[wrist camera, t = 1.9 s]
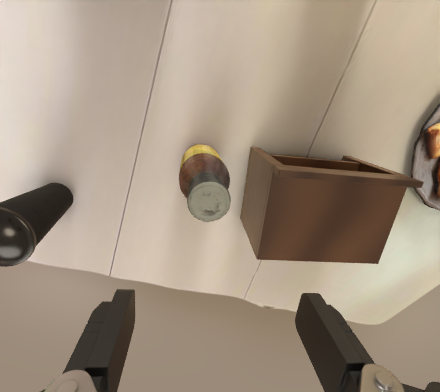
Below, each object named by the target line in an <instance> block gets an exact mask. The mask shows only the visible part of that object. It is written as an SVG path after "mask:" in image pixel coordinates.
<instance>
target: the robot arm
mask: <svg viewBox="0 0 440 392" xmlns="http://www.w3.org/2000/svg"><path fill="white" fill-rule="evenodd" d="M134 323H135V291H134V290H123V289H117V290H116V292H115V295H114V297H113V300H112V302H102V303H101V304H100V305H99V306H98V307H97V308H96V309H95V310H94V311H93V312H92V314H91V316H90V318H89V321H88V324H87V325H86V327H85V329H84V332H83V333H82V335H81V337H80V339H79V341H78V343H77V345H76V348H75V350H74V352H73V354H72V356H71V358H70V360H69V362H68V364H67V366H66V368H65V370H64V372H63V373H62V375H60V376H58V377H57V378H56V379H54V380H53V381H52V382H51V383H50V384H49V385H48V387H47V388H46V389H45V390H43V391H41V392H117V389H118V386H119V382H120V378H121V374H122V371H123V367H124V363H125V359H126V356H127V352H128V348H129V344H130V341H131V337H132V333H133V329H134ZM295 323H296V328H297V331H298V334H299V336H300V338H301V340H302V343H303V345H304V347H305V349H306V351H307V354H308V356H309V358H310V360H311V362H312V365H313V367H314V369H315V371H316V374H317V376H318V378H319V380H320V383H321V385H322V387H323V389H324V391H325V392H440V383H439V382H431V383H429V384H428V385H427V387H426V389H425V390H422V389H418V388H415V387H412V386H409V385H405V384H402V383H401V382H400V381H399V380H398V379H397V377H396V376H394V374H392V373H391V372H390V371H388V370H387V369H386V368H384V367H382V366H379V365H377V364H375V363H374V361H373V360H372V358H371V357H370V356H369V354H368V353H367V351H366V350H365V348H364V347H363V345H362V344H361V343H360V341H359V340H358V338H357V337H356V335H355V334H354V333H353V332H352V330H351V328H350V327H349V326H348V325H347V322H346V321H345V319H344V318H343V317H342V315H341V314H340V313H339V312H338V311H337V310H336V309H335V308H334V307H332V306H331V305H327V304H326V302H325V301H324V299H323V298H322V296H321V295H320V294H318V293H303V294H302V295H301V299H300V302H299V306H298V310H297V314H296V318H295Z"/></svg>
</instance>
